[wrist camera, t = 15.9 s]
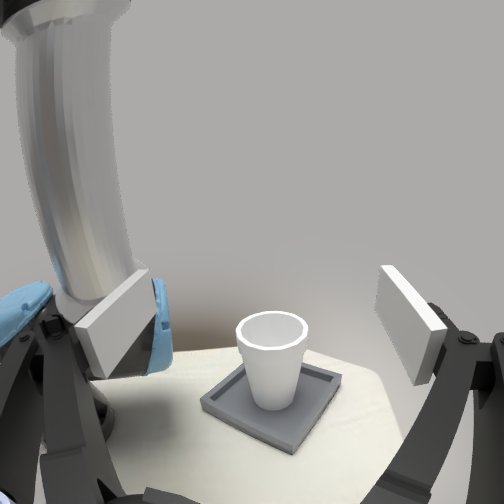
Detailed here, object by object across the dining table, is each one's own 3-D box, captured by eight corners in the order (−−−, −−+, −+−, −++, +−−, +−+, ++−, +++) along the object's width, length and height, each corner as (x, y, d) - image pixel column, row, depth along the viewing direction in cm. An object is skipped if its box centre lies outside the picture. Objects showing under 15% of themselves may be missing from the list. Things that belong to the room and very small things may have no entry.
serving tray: (202, 409, 39) (199, 398, 39) (260, 358, 52) (260, 348, 51) (292, 455, 30) (293, 445, 29) (340, 385, 42) (342, 374, 42)
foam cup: (239, 381, 44) (232, 315, 40) (293, 372, 46) (294, 306, 42) (249, 423, 35) (242, 355, 31) (311, 410, 37) (318, 342, 33)
